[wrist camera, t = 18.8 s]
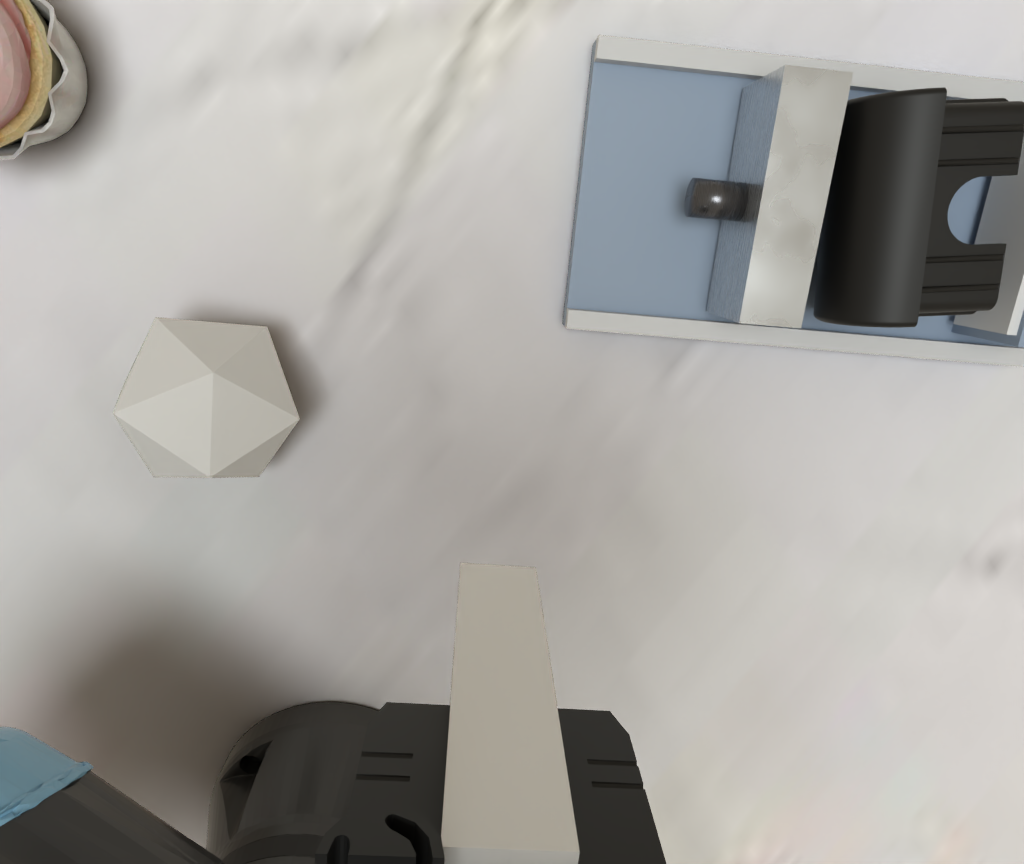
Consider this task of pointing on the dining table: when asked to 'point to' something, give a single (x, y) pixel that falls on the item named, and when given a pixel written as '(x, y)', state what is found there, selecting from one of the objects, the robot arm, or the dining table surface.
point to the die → (206, 400)
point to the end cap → (911, 208)
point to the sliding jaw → (773, 195)
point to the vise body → (693, 241)
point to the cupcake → (37, 76)
